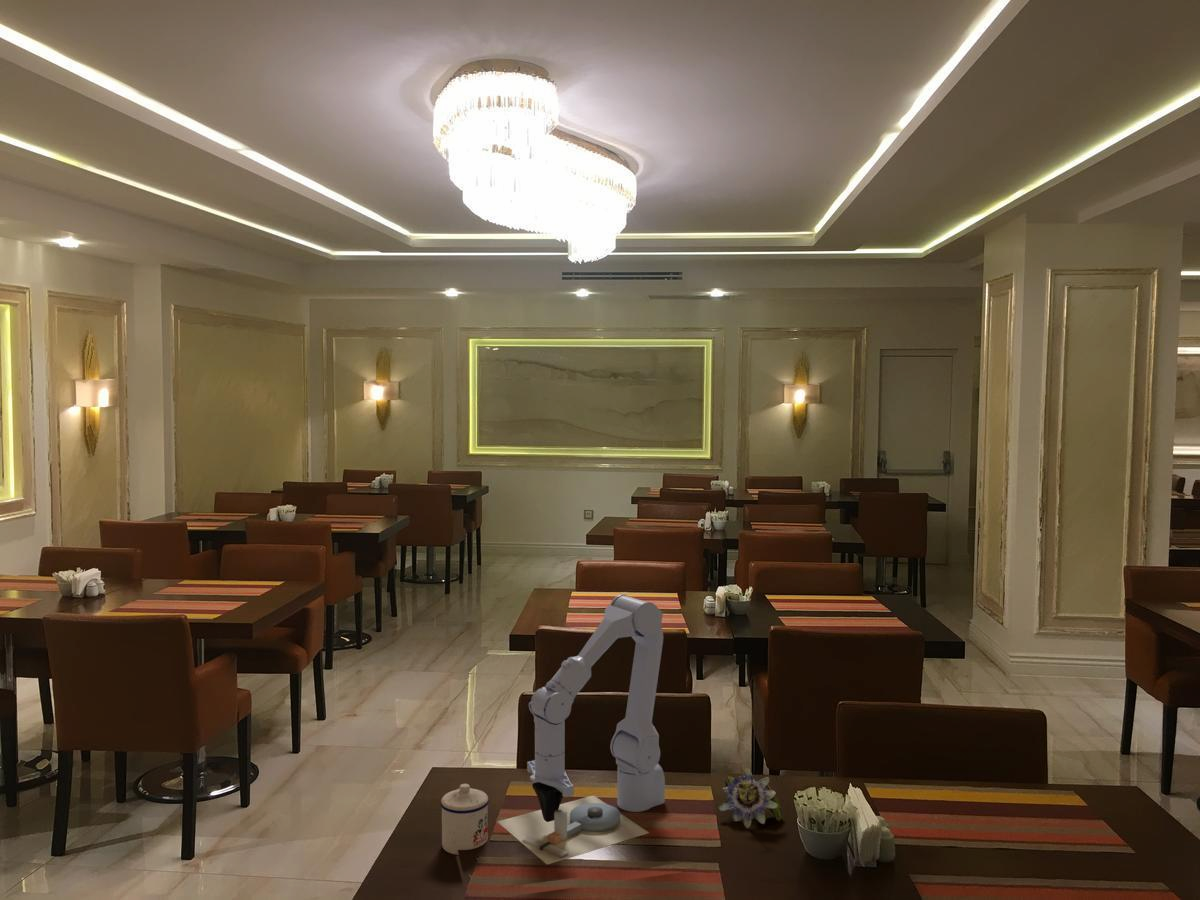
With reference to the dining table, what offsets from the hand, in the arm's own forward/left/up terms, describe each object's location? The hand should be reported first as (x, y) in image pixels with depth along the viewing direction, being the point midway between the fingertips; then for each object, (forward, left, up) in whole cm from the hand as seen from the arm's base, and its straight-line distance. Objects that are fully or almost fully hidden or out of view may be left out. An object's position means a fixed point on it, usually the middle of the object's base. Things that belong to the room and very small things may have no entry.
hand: (549, 819), depth 184 cm
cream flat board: (-4, +1, -3) cm, 6 cm away
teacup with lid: (+14, -7, -4) cm, 16 cm away
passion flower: (-38, +15, -4) cm, 41 cm away
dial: (-6, +2, -2) cm, 7 cm away
